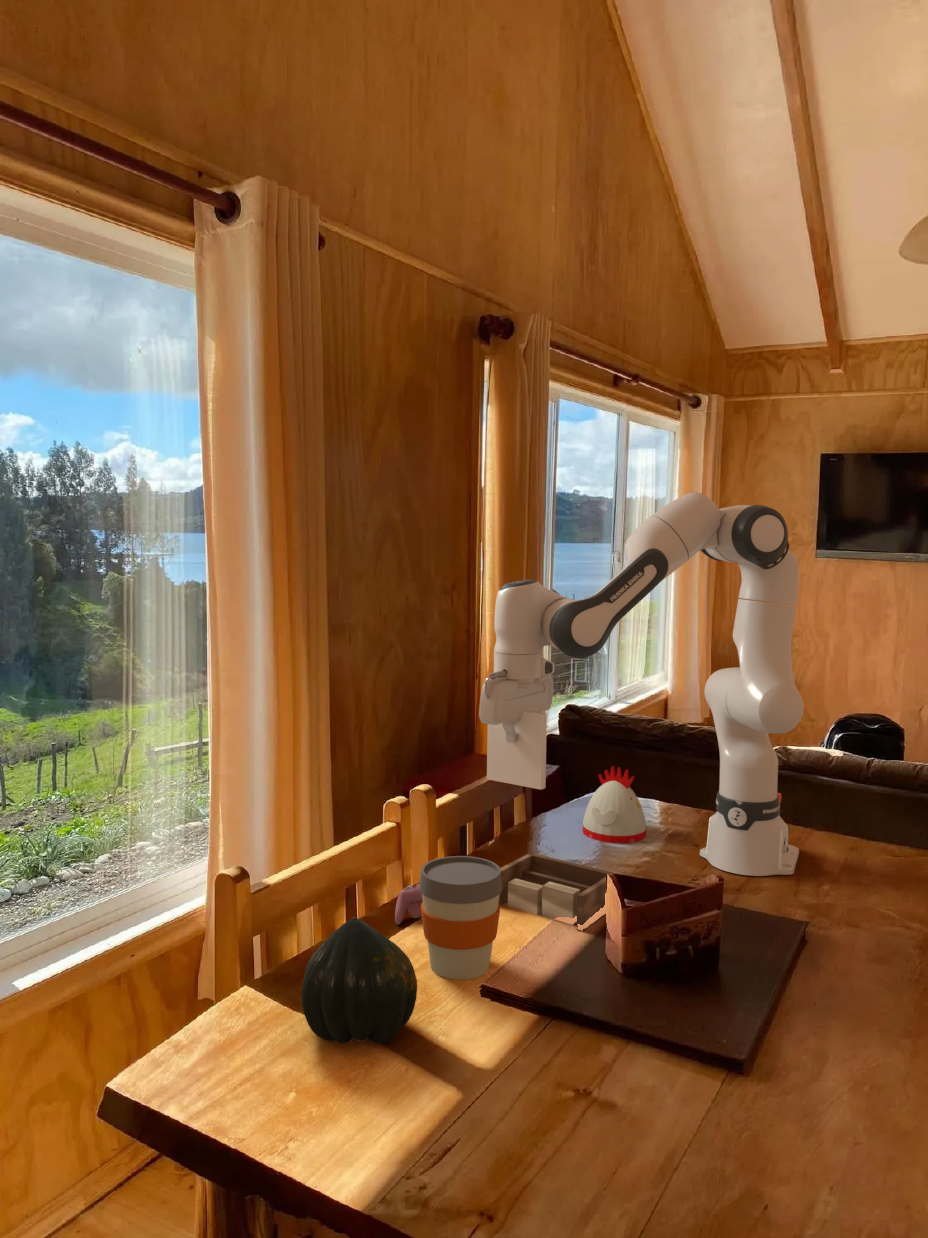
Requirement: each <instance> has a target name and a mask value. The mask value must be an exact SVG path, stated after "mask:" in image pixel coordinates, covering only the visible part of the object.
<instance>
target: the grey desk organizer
mask: <svg viewBox="0 0 928 1238" xmlns="http://www.w3.org/2000/svg"><path fill="white" fill-rule="evenodd" d="M500 870H501V878H502V892H501V893H500V895H499V902H498V903H499V904H500V905H502V904H504V903H506V902H508V882H510V881H511V880H513V879H515V878H516V879H520V880H524V881H527V882H531V883H535V884H539V885H542V886H543V885H545V884H546V883H548V882H553V883H557V884H561V885H565V886H568V887H572V888H576V889H580V894H578V895H577V923H576V925H577V924H580V925H583V924H584V923H585V922H586V921H587V920H588V919H589V918H590V917H592V916H593V915H594V914H595V913H596V912H598V911H599V910H600V908H603V907H604V905H605V893H606V888H605V886H606V875H607V874H608V873H615V874H618V875H619V873H618V872H612V871H608V870H603V869H600V868H596V867H591V866H588V865H583V864H580V863H575V862H571V861H567V860H563V859H558V858H554V857H550V856H546V855H542V854H538V853H536V852H529V853H527V854H525V855H523V856H521V857H519V858H517V859H515V860H514V861H512V862H510V863H508V864H506V865H504V866H502V867H500Z"/></svg>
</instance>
